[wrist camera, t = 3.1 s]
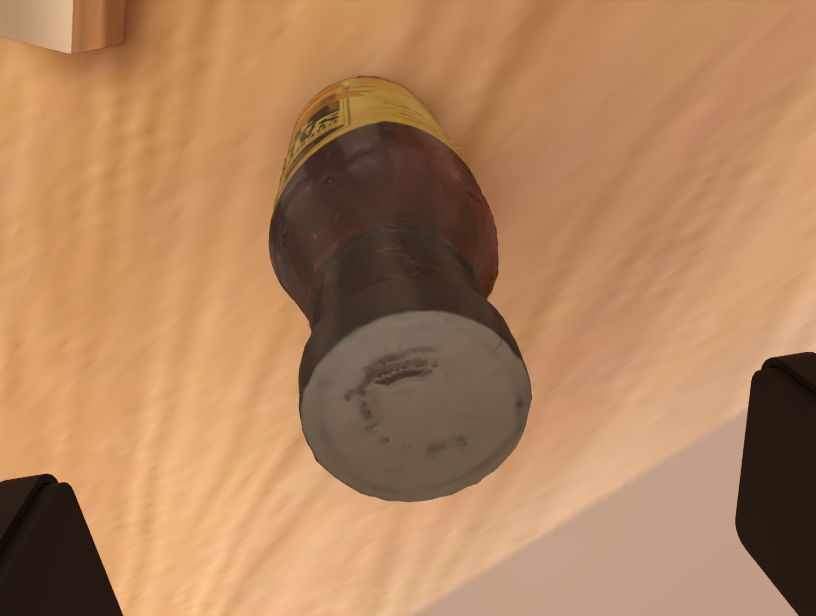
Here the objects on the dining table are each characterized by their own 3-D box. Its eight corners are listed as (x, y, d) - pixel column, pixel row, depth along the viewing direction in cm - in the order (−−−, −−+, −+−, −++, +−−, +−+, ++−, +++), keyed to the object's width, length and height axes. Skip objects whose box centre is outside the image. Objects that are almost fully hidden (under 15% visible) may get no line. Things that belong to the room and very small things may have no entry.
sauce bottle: (306, 55, 27) (263, 153, 9) (452, 93, 28) (668, 244, 10) (279, 208, 30) (202, 522, 12) (414, 236, 31) (535, 560, 13)
